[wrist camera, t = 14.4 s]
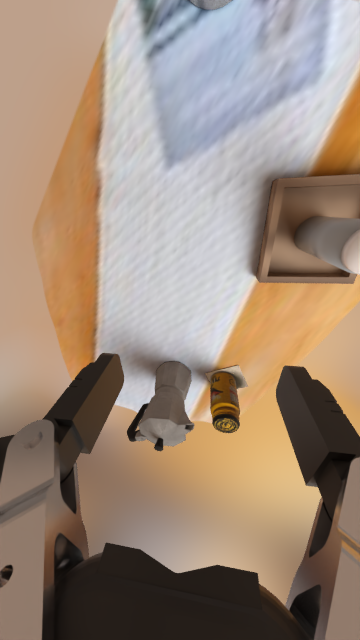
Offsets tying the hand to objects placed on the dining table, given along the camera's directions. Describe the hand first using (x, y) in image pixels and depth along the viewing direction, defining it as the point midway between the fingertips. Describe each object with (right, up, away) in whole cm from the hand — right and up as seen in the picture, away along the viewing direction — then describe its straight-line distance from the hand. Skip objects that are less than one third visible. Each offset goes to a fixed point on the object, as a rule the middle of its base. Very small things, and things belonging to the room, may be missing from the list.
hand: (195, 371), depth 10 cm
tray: (+20, +16, +20) cm, 32 cm away
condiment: (+11, -12, +38) cm, 42 cm away
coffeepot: (-3, -12, +40) cm, 42 cm away
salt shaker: (+19, +16, +20) cm, 32 cm away
